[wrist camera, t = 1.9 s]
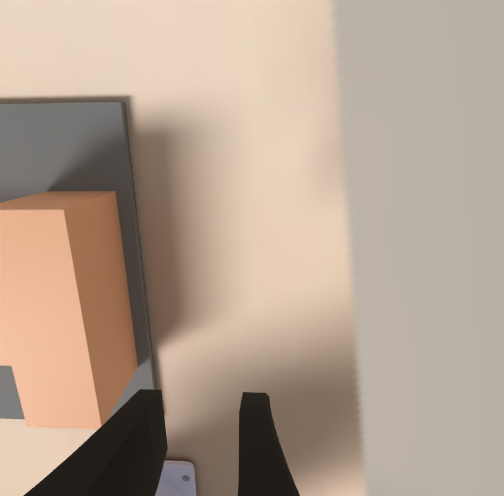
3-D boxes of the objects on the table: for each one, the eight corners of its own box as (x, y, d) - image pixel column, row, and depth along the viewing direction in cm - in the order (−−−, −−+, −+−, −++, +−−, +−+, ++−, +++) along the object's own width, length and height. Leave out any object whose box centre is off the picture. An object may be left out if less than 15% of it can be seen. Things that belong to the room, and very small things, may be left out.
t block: (138, 366, 20) (102, 429, 16) (-38, 362, 21) (-119, 421, 17) (115, 191, 17) (63, 209, 13) (-90, 191, 18) (-204, 209, 14)
